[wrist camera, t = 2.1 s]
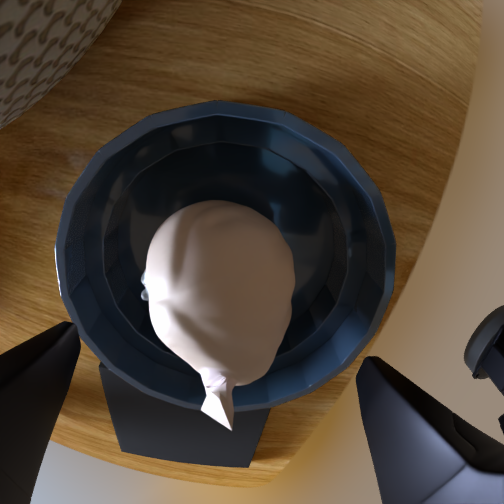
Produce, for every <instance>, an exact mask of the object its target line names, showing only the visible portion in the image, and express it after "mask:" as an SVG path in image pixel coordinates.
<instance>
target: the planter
mask: <svg viewBox="0 0 504 504" xmlns="http://www.w3.org/2000/svg"><path fill="white" fill-rule="evenodd" d="M121 2H122V0H0V129H2V128H3V127H5V126H6V125H8V124H9V123H11V122H12V121H14V120H15V119H17V118H18V117H20V116H21V115H22V114H23V113H25V112H26V111H27V110H28V109H29V108H31V107H32V106H33V105H34V104H35V103H37V102H38V101H39V100H40V99H41V98H43V97H44V96H45V95H46V94H47V93H48V92H49V91H50V90H51V89H52V88H53V87H54V86H55V85H56V84H57V83H58V82H59V81H60V80H61V79H63V78H64V77H65V76H66V74H67V73H68V72H69V71H70V70H71V69H72V67H73V66H74V65H75V64H76V63H77V62H78V61H79V60H80V59H81V57H82V56H83V55H84V54H85V53H86V51H87V50H88V49H89V47H90V46H91V45H92V44H93V42H94V41H95V40H96V39H97V37H98V36H99V35H100V34H101V32H102V31H103V29H104V28H105V26H106V25H107V23H108V22H109V20H110V19H111V18H112V16H113V15H114V13H115V12H116V11H117V9H118V8H119V6H120V4H121Z"/></svg>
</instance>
